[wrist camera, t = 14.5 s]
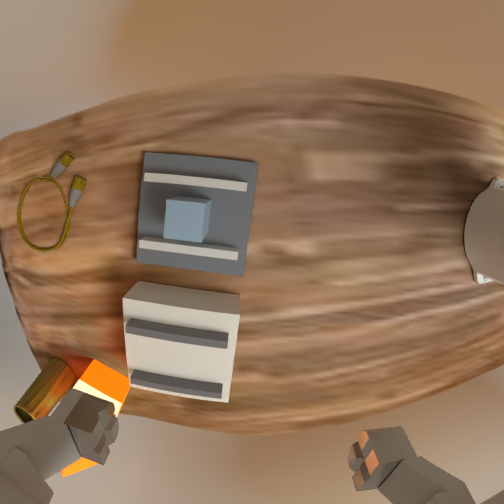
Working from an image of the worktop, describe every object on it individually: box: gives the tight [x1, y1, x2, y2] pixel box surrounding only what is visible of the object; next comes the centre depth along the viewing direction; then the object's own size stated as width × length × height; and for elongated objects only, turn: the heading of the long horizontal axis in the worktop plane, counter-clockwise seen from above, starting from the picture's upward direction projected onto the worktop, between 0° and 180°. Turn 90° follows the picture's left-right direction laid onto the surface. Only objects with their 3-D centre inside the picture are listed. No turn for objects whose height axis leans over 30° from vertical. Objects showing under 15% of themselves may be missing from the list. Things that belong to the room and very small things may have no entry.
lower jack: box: [136, 152, 258, 276], centre depth 34 cm, size 14×14×3 cm
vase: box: [14, 358, 75, 424], centre depth 34 cm, size 6×6×14 cm
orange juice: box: [61, 359, 130, 477], centre depth 32 cm, size 8×9×20 cm
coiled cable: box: [18, 151, 86, 252], centre depth 34 cm, size 12×16×2 cm
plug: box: [164, 196, 212, 243], centre depth 32 cm, size 4×4×6 cm
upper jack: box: [123, 281, 240, 403], centre depth 36 cm, size 14×14×8 cm
